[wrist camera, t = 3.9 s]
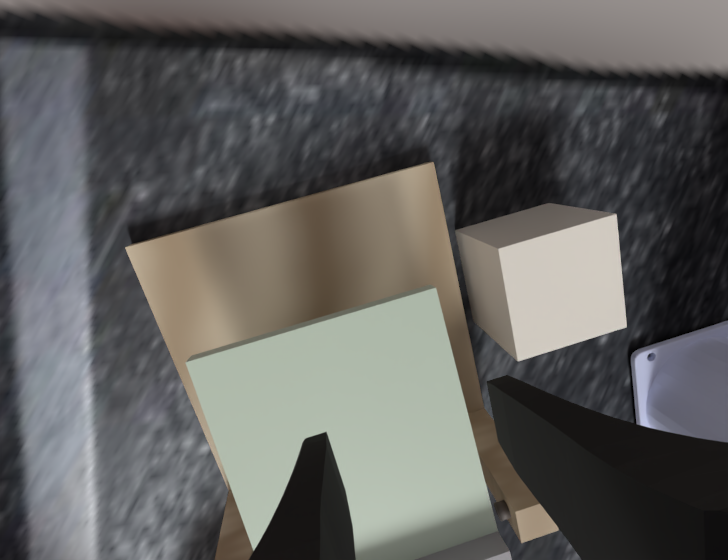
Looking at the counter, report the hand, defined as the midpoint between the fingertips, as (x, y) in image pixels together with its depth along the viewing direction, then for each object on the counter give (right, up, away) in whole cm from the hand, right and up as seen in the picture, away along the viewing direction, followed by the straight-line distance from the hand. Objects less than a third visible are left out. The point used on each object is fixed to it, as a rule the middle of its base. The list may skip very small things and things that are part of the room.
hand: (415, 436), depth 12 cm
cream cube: (+6, +5, +11) cm, 13 cm away
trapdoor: (-2, -3, +7) cm, 8 cm away
